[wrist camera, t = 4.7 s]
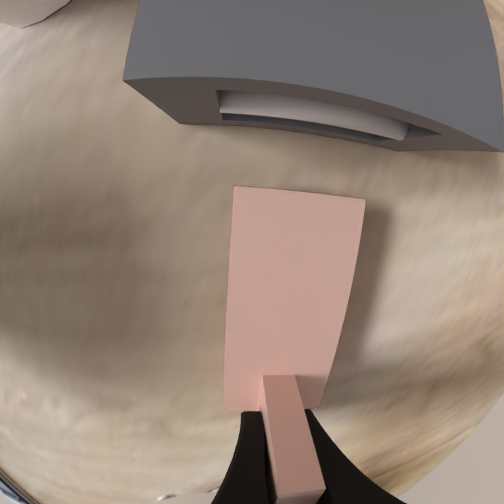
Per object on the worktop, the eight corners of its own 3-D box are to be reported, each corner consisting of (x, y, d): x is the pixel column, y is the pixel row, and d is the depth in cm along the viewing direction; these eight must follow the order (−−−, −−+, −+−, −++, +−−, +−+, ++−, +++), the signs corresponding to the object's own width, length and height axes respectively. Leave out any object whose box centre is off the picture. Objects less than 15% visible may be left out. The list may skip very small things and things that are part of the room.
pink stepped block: (360, 198, 9) (485, 240, 4) (307, 429, 12) (333, 523, 6) (234, 185, 8) (232, 213, 3) (221, 430, 11) (221, 532, 6)
